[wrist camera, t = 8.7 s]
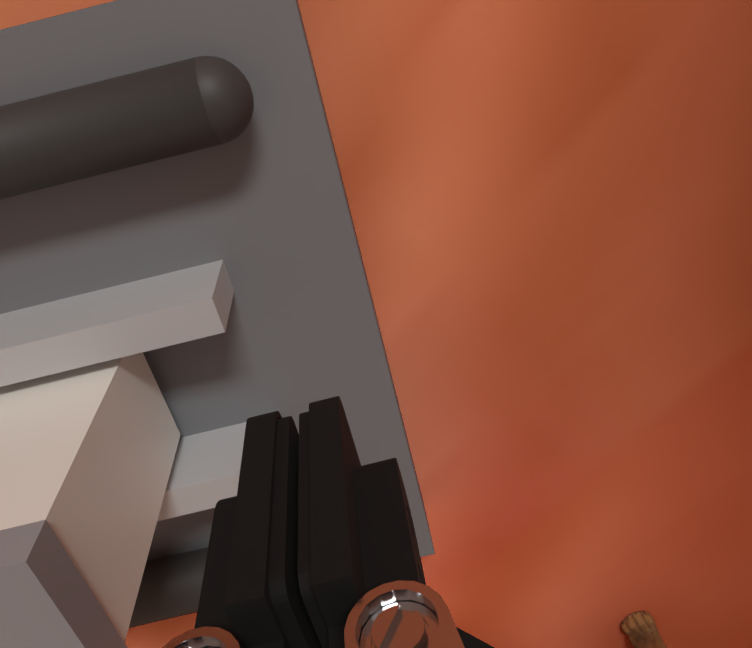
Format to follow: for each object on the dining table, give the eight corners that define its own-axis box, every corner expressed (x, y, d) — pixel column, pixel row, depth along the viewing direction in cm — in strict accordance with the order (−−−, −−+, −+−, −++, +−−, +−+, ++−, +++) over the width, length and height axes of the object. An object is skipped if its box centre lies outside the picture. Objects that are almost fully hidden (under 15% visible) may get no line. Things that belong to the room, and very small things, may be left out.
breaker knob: (136, 328, 15) (25, 561, 9) (185, 436, 17) (119, 697, 11) (1, 361, 15) (-198, 614, 9) (62, 465, 17) (-73, 742, 11)
